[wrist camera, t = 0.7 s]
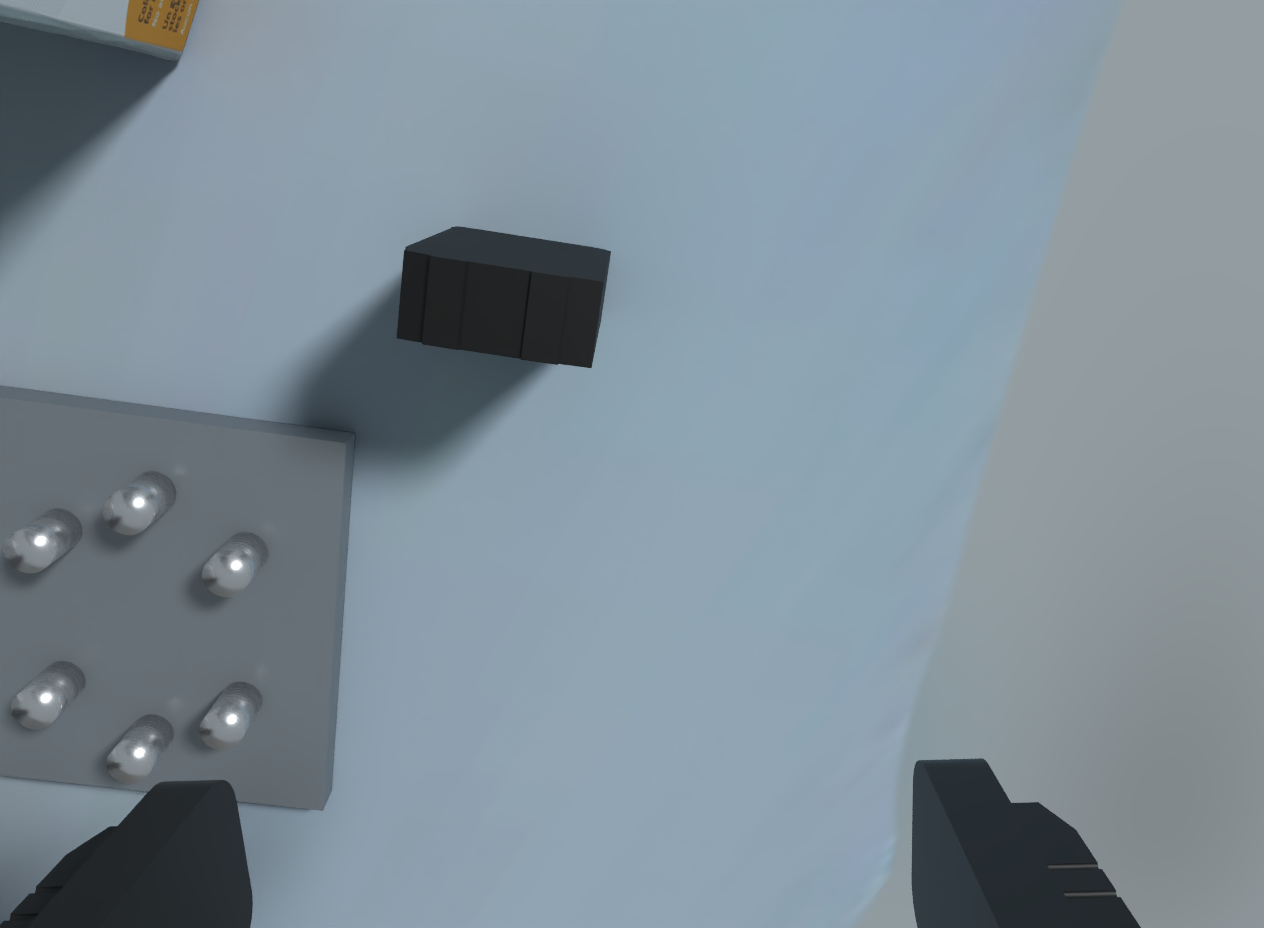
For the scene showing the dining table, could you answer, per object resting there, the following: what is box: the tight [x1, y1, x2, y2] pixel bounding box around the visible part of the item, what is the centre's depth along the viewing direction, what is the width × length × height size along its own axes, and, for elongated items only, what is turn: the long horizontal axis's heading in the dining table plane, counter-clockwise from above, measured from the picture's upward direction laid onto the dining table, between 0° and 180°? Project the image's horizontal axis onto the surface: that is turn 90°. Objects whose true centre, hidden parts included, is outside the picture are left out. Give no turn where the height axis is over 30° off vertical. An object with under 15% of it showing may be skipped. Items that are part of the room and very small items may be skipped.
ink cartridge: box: [397, 227, 611, 368], centre depth 28 cm, size 5×2×8 cm, turn 81°
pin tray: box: [0, 386, 355, 811], centre depth 33 cm, size 12×14×3 cm
